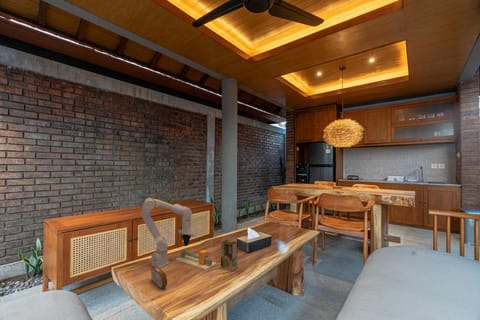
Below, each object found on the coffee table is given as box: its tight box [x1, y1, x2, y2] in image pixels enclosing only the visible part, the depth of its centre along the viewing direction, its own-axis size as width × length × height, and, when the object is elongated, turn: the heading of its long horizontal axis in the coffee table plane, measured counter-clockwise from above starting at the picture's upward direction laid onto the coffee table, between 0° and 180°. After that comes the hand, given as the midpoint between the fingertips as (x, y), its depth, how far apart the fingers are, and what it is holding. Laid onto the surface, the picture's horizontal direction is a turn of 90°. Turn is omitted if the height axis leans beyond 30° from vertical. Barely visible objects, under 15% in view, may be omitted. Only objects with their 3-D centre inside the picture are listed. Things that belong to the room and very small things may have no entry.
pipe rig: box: [175, 249, 217, 271], centre depth 148 cm, size 27×10×6 cm, turn 58°
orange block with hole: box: [198, 249, 209, 264], centre depth 144 cm, size 4×5×7 cm
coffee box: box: [220, 239, 239, 272], centre depth 141 cm, size 9×6×16 cm
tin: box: [150, 266, 168, 289], centre depth 119 cm, size 15×3×8 cm, turn 44°
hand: (186, 245), depth 151 cm, fingers closed
